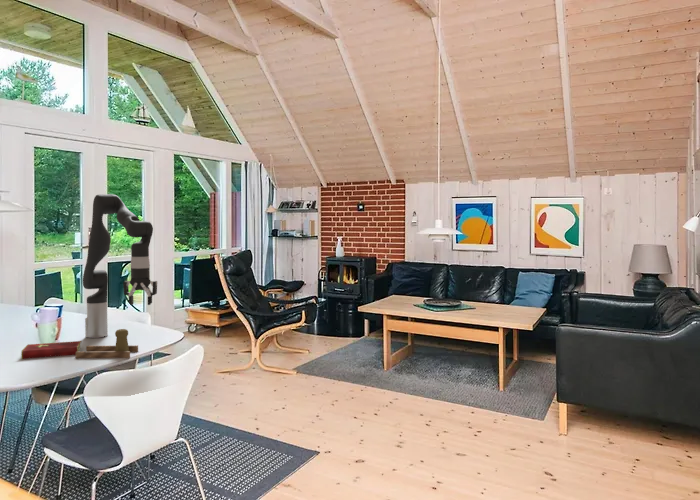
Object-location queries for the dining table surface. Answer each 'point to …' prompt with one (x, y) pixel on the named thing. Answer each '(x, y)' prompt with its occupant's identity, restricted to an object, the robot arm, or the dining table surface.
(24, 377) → the dining table surface
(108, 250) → the robot arm
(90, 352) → the brown flat piece
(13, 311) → the dining table surface
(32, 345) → the hardcover book
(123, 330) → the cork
